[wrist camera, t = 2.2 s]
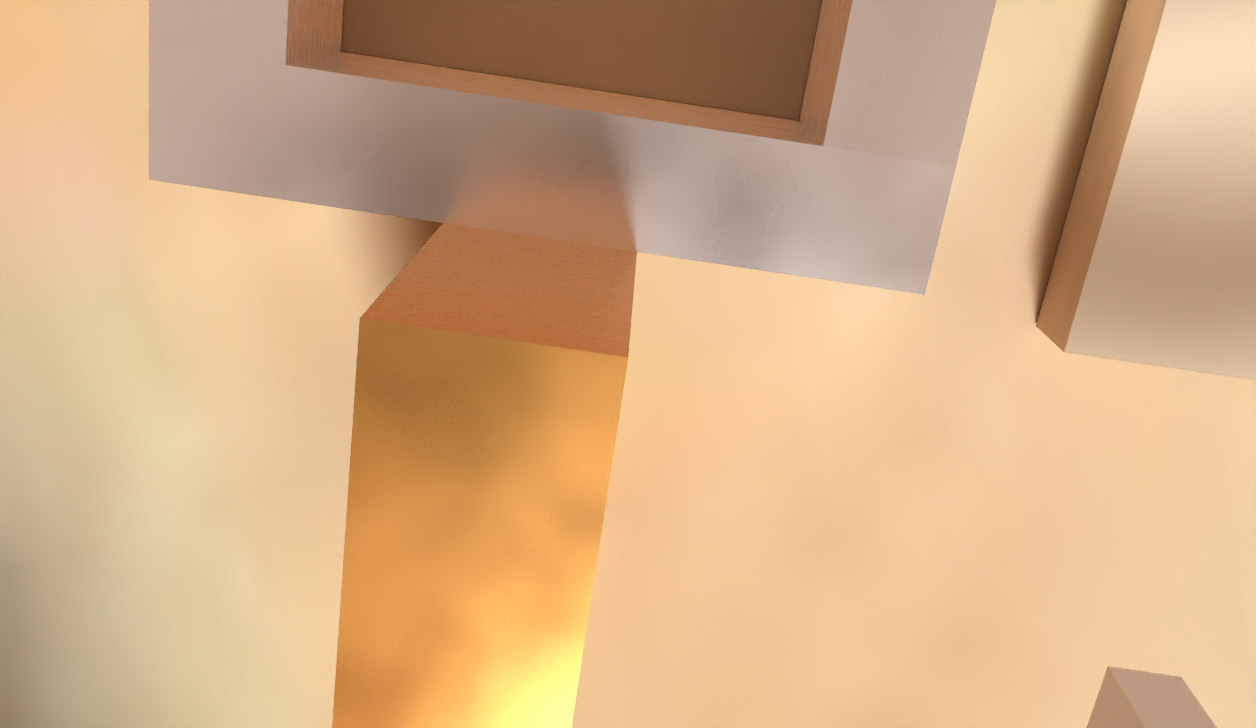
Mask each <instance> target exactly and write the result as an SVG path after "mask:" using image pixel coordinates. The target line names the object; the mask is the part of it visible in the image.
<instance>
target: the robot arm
mask: <svg viewBox="0 0 1256 728" xmlns="http://www.w3.org/2000/svg"><path fill="white" fill-rule="evenodd" d="M1087 728H1217V727H1216V726H1215V725H1214V723H1213V722H1212V720H1211V719H1210V717H1209V716H1208V715H1207V713H1206V712H1205V710H1204V709H1203V707H1202V706H1201V705H1200V703H1199V702H1198V700H1197V699H1196V698H1195V696H1194V695H1193V693H1192V692H1191V690H1190V689H1189V688H1188V686H1187V685H1186V683H1185V682H1184V681H1183V679H1182V678H1181V677H1176V676H1170V675H1163V674H1156V673H1149V672H1143V671H1136V670H1129V669H1122V668H1115V667H1109V666H1108V668H1107V671H1106V674H1105V677H1104V679H1103V682H1102V685H1101V688H1100V691H1099V694H1098V697H1097V700H1096V702H1095V705H1094V708H1093V711H1092V714H1091V717H1090V720H1089V723H1088V725H1087Z"/></svg>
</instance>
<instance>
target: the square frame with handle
mask: <svg viewBox="0 0 1256 728" xmlns="http://www.w3.org/2000/svg"><path fill="white" fill-rule="evenodd" d="M995 3H996V0H823V1H822V6H821V11H820V17H819V22H818V27H817V32H816V37H815V42H814V48H813V53H812V58H811V63H810V68H809V73H808V79H807V84H806V89H805V94H804V99H803V104H802V110H801V115H800V120H799V121H796V120H789V119H782V118H776V117H769V116H763V115H756V114H749V113H743V112H736V111H729V110H723V109H716V108H710V107H703V106H696V105H690V104H683V103H677V102H670V101H663V100H657V99H650V98H644V97H637V96H630V95H624V94H617V93H611V92H604V91H597V90H591V89H584V88H577V87H571V86H564V85H558V84H551V83H544V82H538V81H531V80H525V79H518V78H511V77H505V76H498V75H492V74H485V73H478V72H472V71H465V70H458V69H452V68H445V67H439V66H432V65H425V64H419V63H412V62H406V61H399V60H392V59H386V58H379V57H373V56H366V55H359V54H353V53H346V52H341V40H342V22H343V5H344V0H149V180H155V181H162V182H168V183H175V184H182V185H189V186H195V187H202V188H209V189H216V190H222V191H229V192H236V193H243V194H249V195H256V196H263V197H270V198H276V199H283V200H290V201H297V202H303V203H310V204H317V205H324V206H330V207H337V208H344V209H351V210H357V211H364V212H371V213H378V214H384V215H391V216H398V217H405V218H411V219H418V220H425V221H432V222H438V223H443V224H442V225H441V226H440V227H439V228H438V229H437V230H436V232H435V233H434V234H433V235H432V236H431V237H430V238H429V240H428V241H427V242H426V243H425V244H424V245H423V246H422V248H421V249H420V250H419V251H418V252H417V253H416V255H415V256H414V257H413V258H412V259H411V260H410V261H409V263H408V264H407V265H406V266H405V267H404V268H403V269H402V271H401V272H400V273H399V274H398V275H397V276H396V277H395V279H394V280H393V281H392V282H391V283H390V284H389V286H388V287H387V288H386V289H385V290H384V291H383V292H382V294H381V295H380V296H379V297H378V298H377V299H376V300H375V302H374V303H373V304H372V305H371V306H370V307H369V308H368V310H367V311H366V312H365V313H364V314H363V315H362V317H361V318H360V324H359V339H358V354H357V369H356V383H355V398H354V413H353V428H352V443H351V457H350V472H349V487H348V502H347V517H346V531H345V546H344V561H343V576H342V591H341V605H340V620H339V635H338V650H337V665H336V679H335V694H334V709H333V724H332V728H571V726H572V719H573V713H574V706H575V700H576V693H577V687H578V680H579V674H580V667H581V661H582V654H583V648H584V641H585V635H586V628H587V622H588V615H589V609H590V602H591V596H592V589H593V582H594V576H595V569H596V563H597V556H598V550H599V543H600V537H601V530H602V524H603V517H604V511H605V504H606V498H607V491H608V485H609V478H610V472H611V465H612V459H613V452H614V446H615V439H616V433H617V426H618V420H619V413H620V407H621V400H622V394H623V387H624V381H625V374H626V368H627V361H628V352H629V340H630V328H631V315H632V303H633V291H634V279H635V267H636V254H637V252H641V253H648V254H655V255H661V256H668V257H675V258H682V259H688V260H695V261H702V262H709V263H715V264H722V265H729V266H736V267H742V268H749V269H756V270H763V271H769V272H776V273H783V274H790V275H796V276H803V277H810V278H817V279H823V280H830V281H837V282H844V283H850V284H857V285H864V286H871V287H877V288H884V289H891V290H898V291H904V292H911V293H918V294H925V291H926V287H927V283H928V279H929V275H930V271H931V266H932V262H933V258H934V254H935V250H936V246H937V242H938V238H939V234H940V229H941V225H942V221H943V217H944V213H945V209H946V205H947V201H948V196H949V192H950V188H951V184H952V180H953V176H954V172H955V168H956V164H957V159H958V155H959V151H960V147H961V143H962V139H963V135H964V131H965V126H966V122H967V118H968V114H969V110H970V106H971V102H972V98H973V94H974V89H975V85H976V81H977V77H978V73H979V69H980V65H981V61H982V57H983V52H984V48H985V44H986V40H987V36H988V32H989V28H990V24H991V19H992V15H993V11H994V7H995Z"/></svg>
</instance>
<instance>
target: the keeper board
mask: <svg viewBox="0 0 1256 728" xmlns="http://www.w3.org/2000/svg"><path fill="white" fill-rule="evenodd" d="M1036 326H1037V327H1038V328H1039V329H1040V330H1041V331H1042V332H1043V333H1044V334H1045V335H1046V336H1047V337H1048V338H1050V339H1051V340H1052V341H1053V342H1054V343H1055V344H1056V345H1057V346H1058V347H1059V348H1060V349H1061V350H1062V351H1063V352H1066V353H1073V354H1080V355H1087V356H1094V357H1100V358H1107V359H1114V360H1121V361H1128V362H1134V363H1141V364H1148V365H1155V366H1161V367H1168V368H1175V369H1182V370H1189V371H1195V372H1202V373H1209V374H1216V375H1223V376H1229V377H1236V378H1243V379H1250V380H1256V0H1127V4H1126V7H1125V11H1124V14H1123V18H1122V21H1121V25H1120V29H1119V32H1118V36H1117V39H1116V43H1115V46H1114V50H1113V53H1112V57H1111V61H1110V64H1109V68H1108V71H1107V75H1106V78H1105V82H1104V86H1103V89H1102V93H1101V96H1100V100H1099V103H1098V107H1097V111H1096V114H1095V118H1094V121H1093V125H1092V128H1091V132H1090V136H1089V139H1088V143H1087V146H1086V150H1085V153H1084V157H1083V160H1082V164H1081V168H1080V171H1079V175H1078V178H1077V182H1076V185H1075V189H1074V193H1073V196H1072V200H1071V203H1070V207H1069V210H1068V214H1067V218H1066V221H1065V225H1064V228H1063V232H1062V235H1061V239H1060V243H1059V246H1058V250H1057V253H1056V257H1055V260H1054V264H1053V268H1052V271H1051V275H1050V278H1049V282H1048V285H1047V289H1046V292H1045V296H1044V300H1043V303H1042V307H1041V310H1040V314H1039V317H1038V321H1037V325H1036Z"/></svg>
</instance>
